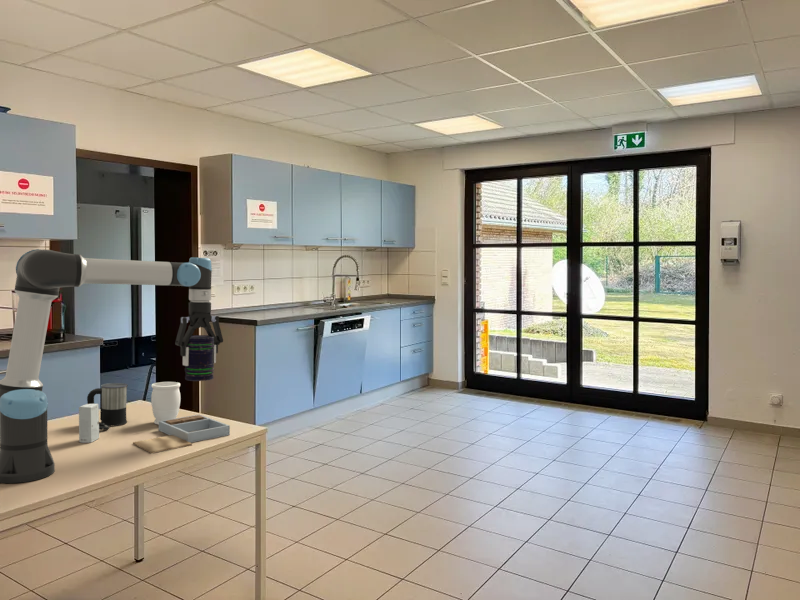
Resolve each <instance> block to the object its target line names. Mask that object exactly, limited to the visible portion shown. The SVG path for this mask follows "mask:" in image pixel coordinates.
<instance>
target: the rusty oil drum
mask: <svg viewBox="0 0 800 600" xmlns="http://www.w3.org/2000/svg"><path fill="white" fill-rule="evenodd" d="M186 347H189V357H188V366H185V365H184V367H185V368H184V372H185V374H184V375H185V376H184V379H185V380H186V381H190V382H205V381H211V380H213V379H214V378H215V377H214V372H215V368H214V367H215V365H214V364H215V363H213V352H214V348H213V347H214V336H213V337H211V336H208V334H205V335H204V334H199V335H197V334H196V335H194V334H192V336H191V338H189V342H188V344H187V346H186Z"/></svg>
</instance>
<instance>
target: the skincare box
mask: <svg viewBox="0 0 800 600" xmlns="http://www.w3.org/2000/svg"><path fill="white" fill-rule="evenodd" d="M99 408H100V406H99V403H94V404H87V403H86V404H82V405H81V406H79V407H78V434H79V435H78V439H79V440H78V441H79V443H83V444H85V443H86V444H88V443H89V444H91V443H93V442H96V441H97V440H99V439H100V429H99V422H100V416H99V415H100V413H99V411H100V409H99ZM98 438H99V439H98Z"/></svg>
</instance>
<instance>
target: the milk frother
mask: <svg viewBox="0 0 800 600" xmlns="http://www.w3.org/2000/svg"><path fill="white" fill-rule="evenodd" d="M128 385H129V384H128V383H123V382H110V383H109V382H108V383H103V384H101V385H100V386H101V387H98V388H94V389H92V390H91V391H89V393H88V394H87V397H86V399H87V400H86V401H87V402H86V404H95V396H96V395H100V406H99V408H100V409H99V411H100V413H99V415H100V416H99V431H102V430H110V427H116V426H117V427H118V426H123V425H126V424H127V423H128V421H127V393H128V392H127V387H128Z"/></svg>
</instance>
